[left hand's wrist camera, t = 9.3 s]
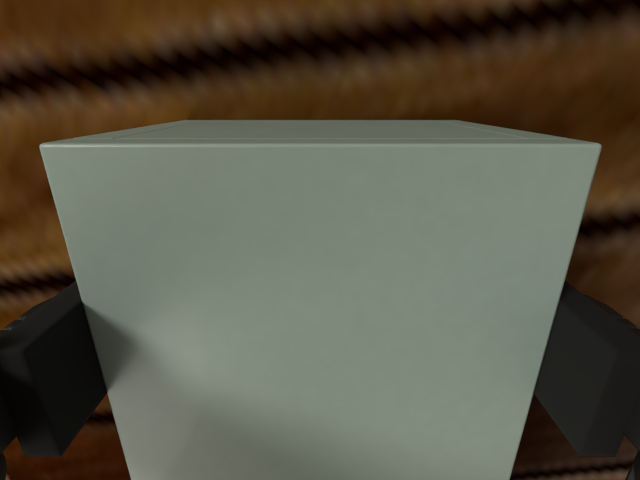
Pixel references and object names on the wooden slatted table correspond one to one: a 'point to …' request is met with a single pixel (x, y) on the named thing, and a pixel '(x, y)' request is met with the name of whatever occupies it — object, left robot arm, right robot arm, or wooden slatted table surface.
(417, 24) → the wooden slatted table surface
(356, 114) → the wooden slatted table surface
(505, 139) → the cabinet
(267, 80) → the wooden slatted table surface
